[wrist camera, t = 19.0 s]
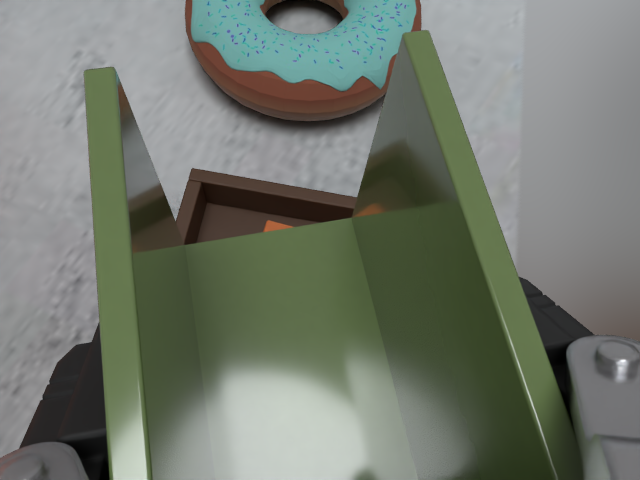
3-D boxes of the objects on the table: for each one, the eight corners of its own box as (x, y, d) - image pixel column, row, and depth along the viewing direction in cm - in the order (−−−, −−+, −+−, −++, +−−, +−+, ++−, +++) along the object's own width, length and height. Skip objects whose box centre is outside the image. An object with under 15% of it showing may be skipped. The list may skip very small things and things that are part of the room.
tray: (406, 521, 22) (421, 527, 19) (121, 470, 22) (102, 469, 19) (433, 235, 26) (448, 213, 24) (199, 194, 27) (191, 167, 24)
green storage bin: (464, 599, 13) (691, 742, 6) (219, 666, 13) (135, 927, 5) (364, 223, 17) (429, 27, 10) (170, 255, 16) (81, 68, 9)
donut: (218, -54, 33) (210, -121, 29) (421, -20, 33) (439, -83, 29) (165, 115, 28) (148, 61, 24) (402, 154, 28) (420, 106, 24)
